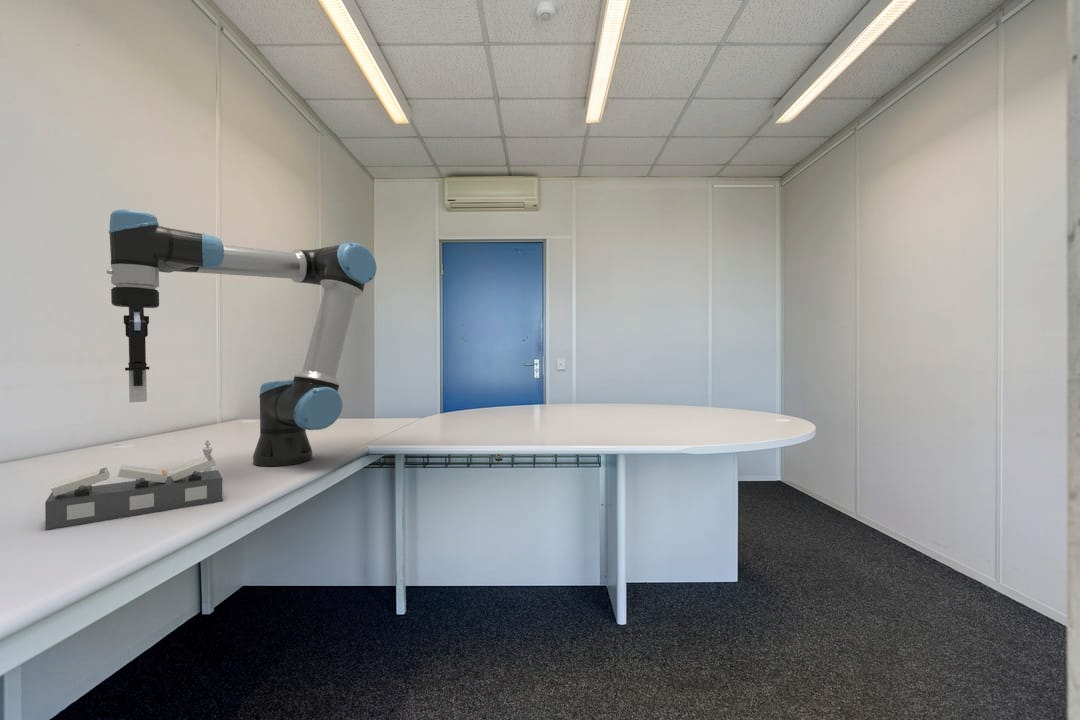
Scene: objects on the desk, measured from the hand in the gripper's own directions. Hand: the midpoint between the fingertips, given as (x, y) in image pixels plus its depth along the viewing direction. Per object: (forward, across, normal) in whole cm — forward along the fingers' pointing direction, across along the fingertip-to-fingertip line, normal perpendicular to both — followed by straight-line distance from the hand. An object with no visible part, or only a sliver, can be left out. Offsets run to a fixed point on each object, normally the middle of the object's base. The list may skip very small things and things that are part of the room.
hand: (138, 401), depth 98 cm
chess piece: (+22, -10, +13) cm, 27 cm away
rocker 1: (+15, +5, -8) cm, 18 cm away
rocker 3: (+15, +6, +9) cm, 18 cm away
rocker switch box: (+21, +6, 0) cm, 22 cm away
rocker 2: (+15, +6, 0) cm, 16 cm away
